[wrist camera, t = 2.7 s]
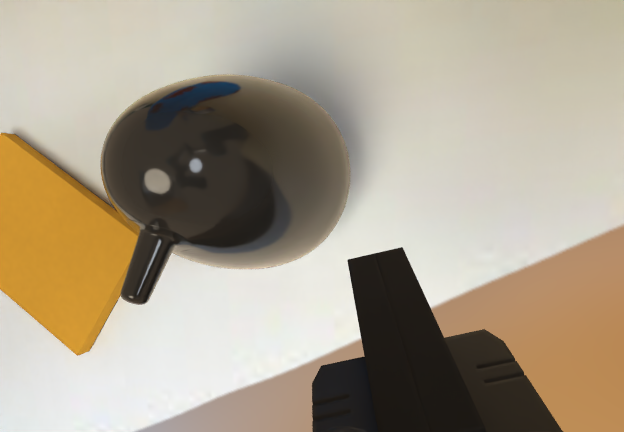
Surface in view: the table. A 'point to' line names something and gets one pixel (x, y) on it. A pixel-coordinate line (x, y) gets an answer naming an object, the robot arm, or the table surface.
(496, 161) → the table surface
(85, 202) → the mustard mat
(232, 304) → the table surface
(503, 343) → the robot arm
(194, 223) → the black glossy oval body
